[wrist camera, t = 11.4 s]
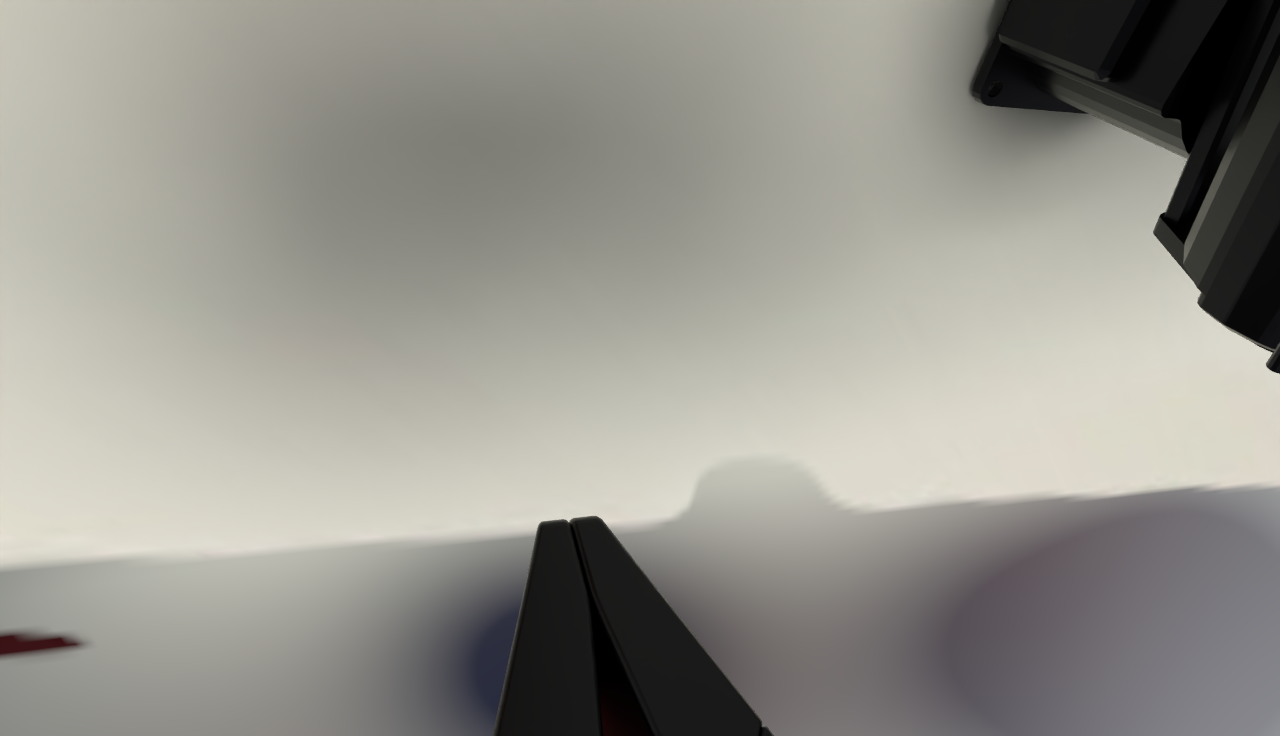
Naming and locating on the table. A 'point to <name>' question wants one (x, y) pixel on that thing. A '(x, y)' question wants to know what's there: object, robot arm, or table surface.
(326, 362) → the table surface
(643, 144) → the table surface
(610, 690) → the robot arm
